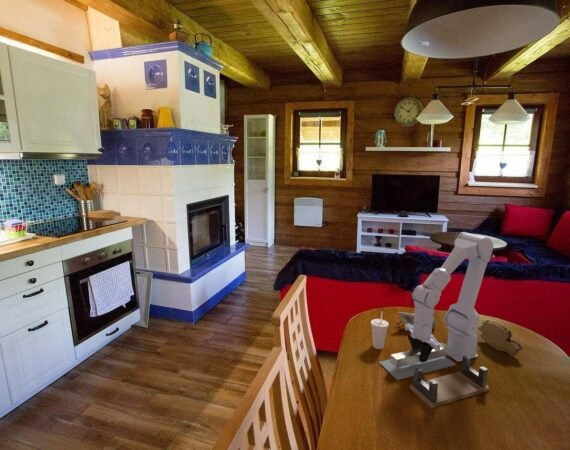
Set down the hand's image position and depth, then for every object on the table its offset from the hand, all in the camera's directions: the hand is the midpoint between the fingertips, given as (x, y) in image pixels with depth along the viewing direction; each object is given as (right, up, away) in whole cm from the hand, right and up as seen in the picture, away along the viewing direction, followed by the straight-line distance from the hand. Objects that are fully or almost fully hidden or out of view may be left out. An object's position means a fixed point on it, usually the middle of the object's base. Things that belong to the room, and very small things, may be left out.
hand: (419, 358), depth 117 cm
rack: (+5, -5, -11) cm, 13 cm away
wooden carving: (+33, -1, +11) cm, 35 cm away
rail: (0, 0, 0) cm, 0 cm away
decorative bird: (+8, +2, +26) cm, 28 cm away
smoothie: (-11, 0, +12) cm, 16 cm away
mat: (0, -2, +1) cm, 3 cm away
